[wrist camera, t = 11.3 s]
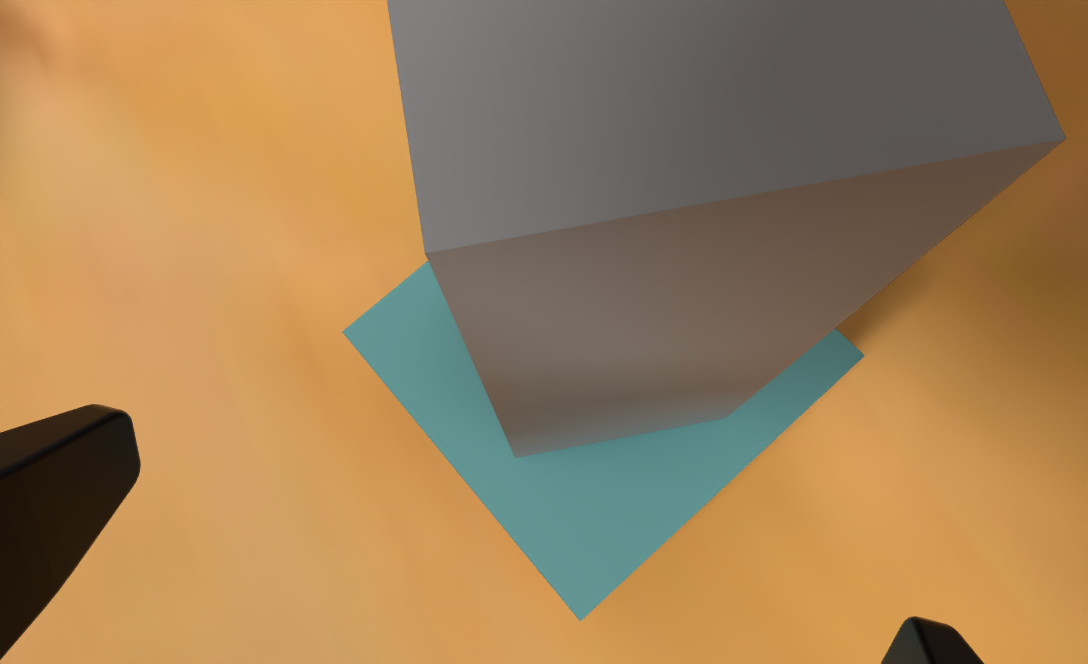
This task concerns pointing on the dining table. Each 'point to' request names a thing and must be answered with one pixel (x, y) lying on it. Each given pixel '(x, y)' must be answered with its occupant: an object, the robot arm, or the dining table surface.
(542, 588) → the dining table surface
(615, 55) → the grey pillar block
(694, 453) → the teal slab
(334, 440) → the dining table surface
